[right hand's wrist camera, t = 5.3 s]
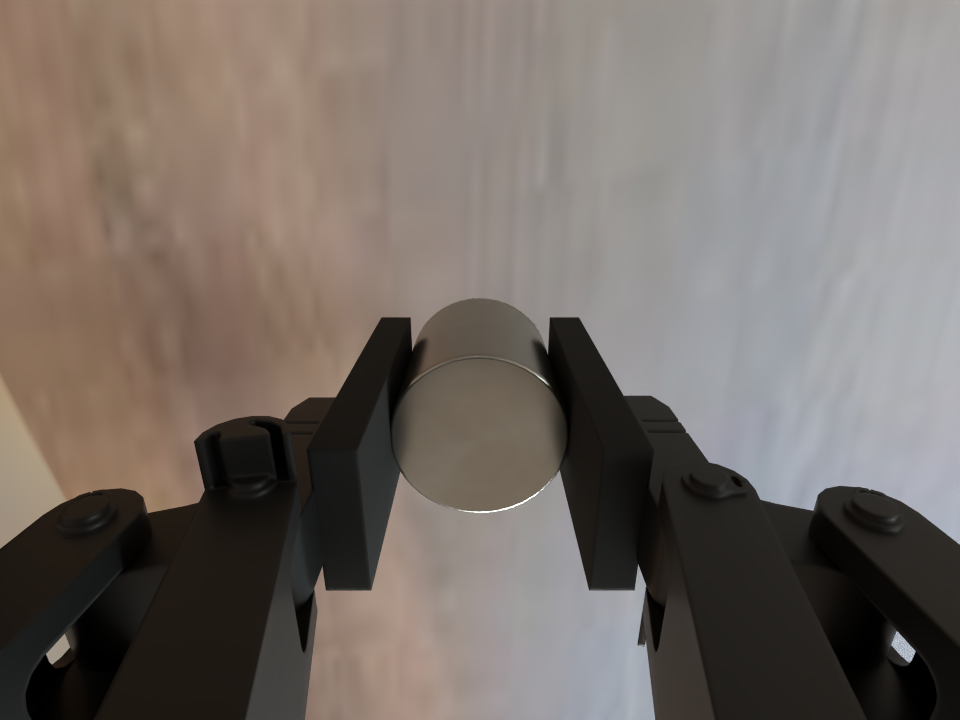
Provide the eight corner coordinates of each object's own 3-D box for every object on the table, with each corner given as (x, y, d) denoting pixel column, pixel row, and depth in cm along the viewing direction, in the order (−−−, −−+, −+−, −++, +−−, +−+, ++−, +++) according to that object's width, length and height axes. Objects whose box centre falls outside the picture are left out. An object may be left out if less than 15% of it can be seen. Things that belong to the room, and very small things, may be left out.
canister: (385, 351, 15) (350, 426, 11) (491, 269, 14) (496, 317, 10) (469, 444, 16) (465, 542, 12) (572, 372, 15) (605, 452, 11)
